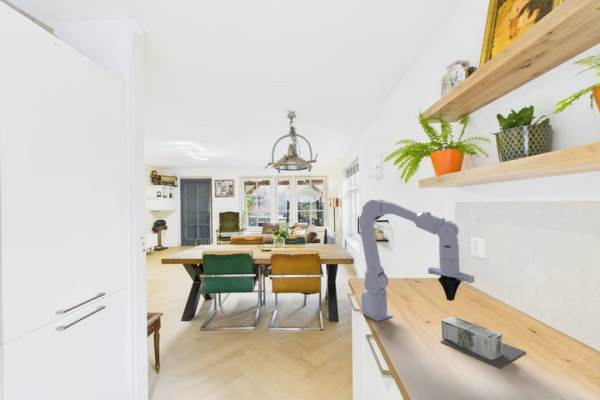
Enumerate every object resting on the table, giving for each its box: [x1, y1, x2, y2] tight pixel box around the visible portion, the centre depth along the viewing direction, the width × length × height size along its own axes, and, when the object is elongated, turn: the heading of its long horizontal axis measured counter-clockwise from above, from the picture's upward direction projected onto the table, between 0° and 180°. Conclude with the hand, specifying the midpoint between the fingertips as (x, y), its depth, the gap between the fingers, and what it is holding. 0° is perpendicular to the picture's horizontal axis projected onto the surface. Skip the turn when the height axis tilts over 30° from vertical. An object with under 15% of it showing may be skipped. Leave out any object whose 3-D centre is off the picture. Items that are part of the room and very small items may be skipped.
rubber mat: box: [440, 339, 527, 369], centre depth 80 cm, size 16×14×1 cm
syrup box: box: [441, 316, 503, 360], centre depth 80 cm, size 6×6×14 cm
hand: (450, 299), depth 90 cm, fingers closed
